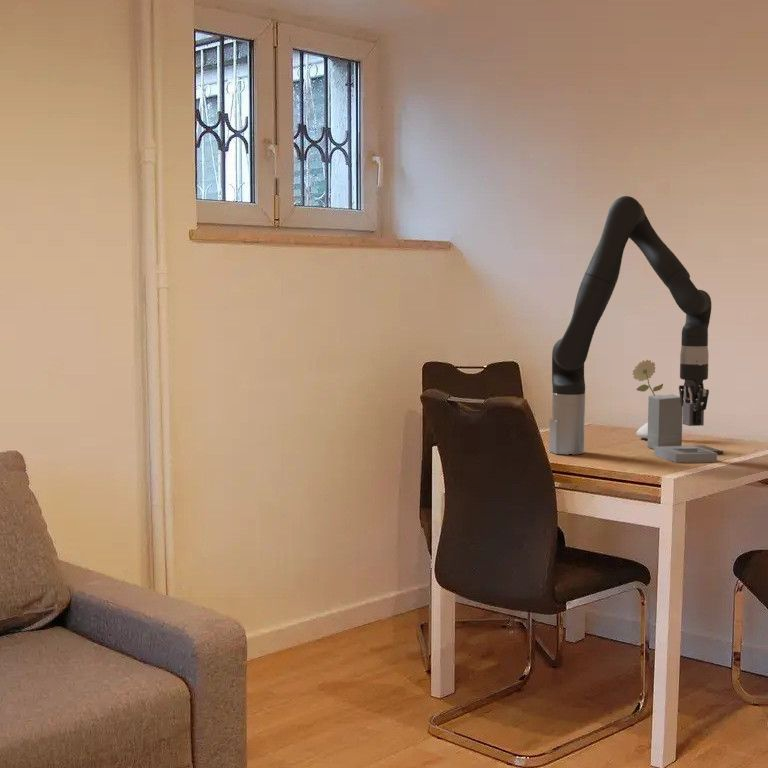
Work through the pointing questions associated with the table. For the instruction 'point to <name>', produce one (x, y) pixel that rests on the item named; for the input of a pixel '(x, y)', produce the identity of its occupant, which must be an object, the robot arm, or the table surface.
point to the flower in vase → (645, 387)
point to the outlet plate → (685, 454)
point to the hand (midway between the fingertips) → (692, 423)
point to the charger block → (690, 415)
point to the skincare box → (664, 421)
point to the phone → (710, 449)
